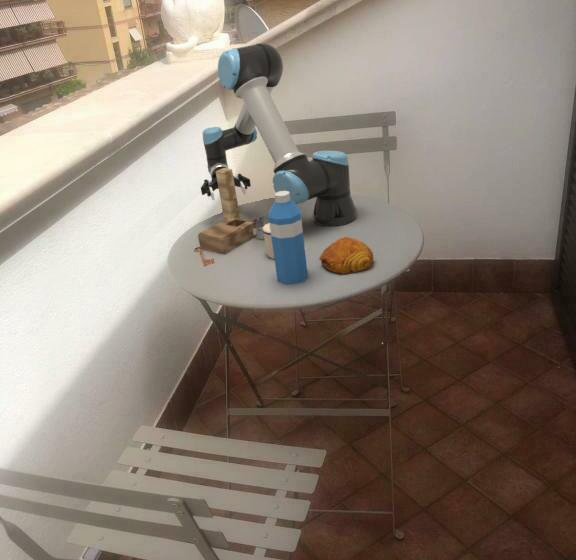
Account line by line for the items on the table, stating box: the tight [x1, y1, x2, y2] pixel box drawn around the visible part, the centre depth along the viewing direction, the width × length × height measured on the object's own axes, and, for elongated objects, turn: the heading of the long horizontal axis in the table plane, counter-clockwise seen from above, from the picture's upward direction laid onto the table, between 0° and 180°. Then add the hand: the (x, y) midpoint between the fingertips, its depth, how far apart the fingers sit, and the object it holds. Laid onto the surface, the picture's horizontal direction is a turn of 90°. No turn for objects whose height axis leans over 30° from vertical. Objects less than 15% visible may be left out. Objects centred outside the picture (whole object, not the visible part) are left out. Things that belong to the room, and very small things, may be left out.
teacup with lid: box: [262, 222, 275, 260], centre depth 177 cm, size 12×9×12 cm
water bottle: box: [268, 191, 309, 285], centre depth 158 cm, size 9×9×25 cm
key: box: [193, 246, 215, 267], centre depth 184 cm, size 6×1×15 cm
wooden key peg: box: [216, 168, 241, 221], centre depth 201 cm, size 4×4×20 cm
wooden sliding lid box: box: [197, 217, 257, 255], centre depth 190 cm, size 16×11×5 cm
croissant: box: [318, 236, 374, 275], centre depth 166 cm, size 14×16×8 cm
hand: (228, 193), depth 196 cm, fingers open, 10 cm apart
